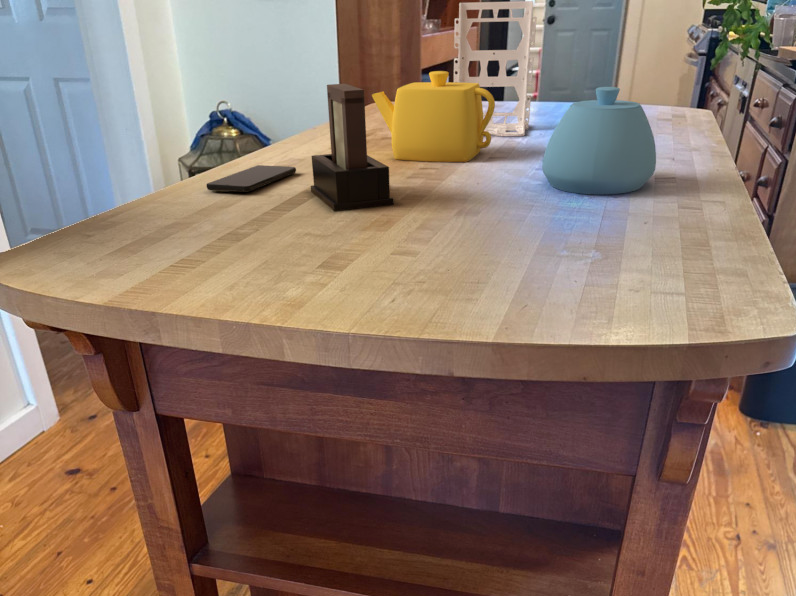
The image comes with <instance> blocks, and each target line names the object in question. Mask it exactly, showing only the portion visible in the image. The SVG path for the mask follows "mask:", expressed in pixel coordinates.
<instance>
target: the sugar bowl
mask: <svg viewBox="0 0 796 596" xmlns="http://www.w3.org/2000/svg"><path fill="white" fill-rule="evenodd" d="M620 90H621V89H620V88H619V87H617V86H599V87H597V88H595V95H596V99H591V100H580V101H576V102H572V104H570V106H569V107H568V108H567V110H566V111H565V112H564V114H563V115H562V116H561V118H560V120H559V122H558V123H557V125H556V126H555V128H554V130H553V131H552V133H551V136H550V138H549V140H548V142H547V145H546V148H545V151H544V155H543V159H542V165H541V170H542V173H543V174H544V176H545V178H546V180H547V181H548V182H549V184H550V185H551V187H552V188H555V189H556V190H560V191H563V192H567V193H573V194H580V195H581V194H582V195H583V194H584V195H600V196H601V195H619V194H626V193H632V192H635V191H639V189H641V188H642V187H643V186H645V184H646V183H647V182H648V181H649V180H650V179H651V178H652V176H653V175H654V173H655V171H656V165H657V149H656V142H655V137H654V133H653V129H652V127H651V124H650V122H649V119H648V117H647V113H646V112H645V111H644V108H643V106H642V104H640V103H639V102H636V101H630V100H620V99H617V97H618V96H619V93H620Z"/></svg>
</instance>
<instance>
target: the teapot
mask: <svg viewBox="0 0 796 596" xmlns="http://www.w3.org/2000/svg"><path fill="white" fill-rule="evenodd" d="M449 74H450V72H448V71H445V70H434V71H430V72H429V73H428V76H429V79H430V81H427V82H424V81H423V82H422V81H421V82H418V81H417V82H416V81H415V82H411V83H407V84H404V85H402V86H399V87H398V88H397V90H396V93H395V98H394V103H392V101H391V100H390V99H389V97H388V96H387V95H386V94H385V91H380V92H376V93H372V94H371V97H372V99H373V102H374V103H375V105H376V107H377V109H378V111H379V113H380V115H381V116H382V119H383V121H384V122H385V124H386V126H387V128H388V130H389V131H390V134H391V149H392V150H391V151H392V154H393V158H394V160H400V161H411V162H412V161H413V162H429V163H430V162H431V163H432V162H433V163H436V162H437V163H466V162H470V161H471V160H473V159H474V158H475V157H476V156H477V155H479V153H480V152H481V150H482V149H486V148H488V147H489V146H490V144H491V142H492V135H490V133H489V132H487V131H484V130H485V128H486V127H487V125H488V123H489V121H490V119H491V117H493V116H492V115H493V113H495V107H496V102H495V98H494V96H493V94H492V93H491V92H490V91H489V90H487V89H485V88H484V87H480V85H479V83H457V82H454V81H453V82H450V81H449V82H448V78H449ZM482 97H483V98H485V99H486V100H487V105H488V106H487V110H486V112H485V113H486V115H485V116H483V113H484V109H483V108H484V107H483V99H482ZM484 137H485V139H486V140H485V141H484Z"/></svg>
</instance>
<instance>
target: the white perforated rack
mask: <svg viewBox="0 0 796 596" xmlns="http://www.w3.org/2000/svg"><path fill="white" fill-rule="evenodd" d="M458 6H459V8H458V10H459V11H458V17H457V18H454V34H453V35H454V37H453V39H454V43H453V47H454V49H457V50H458V52H457V53H458V55H457V57H455V58H453V82H456V83H479V85H480V88H488V87H489V88H491V87H492V88H494V87H495V88H496V87H497V88H499V87H500V88H501V87H502V88H503V87H506V88H507V87H514V91H515V92H516V95H517V98H518V101H517V104H516V105H515V107H514V109H513V111H512V112H493V115H492V117H491V119H490V121H489V123H488V125H487V127H486V128H485V130H484V131H487V132H489V133H490V135H491V136H495V137H522V136H525V135H526V131H528V130H529V128H530V127H529V126H530V125H529V123H530V117H531V116H530V115H531V114H530V113H531V102H532V101H531V100H532V96H531V95H528V87H532V86H533V71H534V57H533V56H530V54H531V53H530V52H531V48H535V45H536V31H537V18H538V17H537V16H533V9H534V1H533V0H524V1H523V0H522V1H519V0H518V1H483V2H482V1H479V2H478V1H477V2H459V4H458ZM522 9H524V14H523V17H521V16H520V17H514V16H513V10H522ZM470 10H471V11H475V10H477V11H478V10H479V11H478V16H477V18H476V17H475V18H474V17H473V18H468V12H467V11H470ZM484 10H492V14H493V17H482V14H483V11H484ZM499 10H509V17H498V14H499ZM533 20H534V21H533ZM457 21H458V23H457ZM495 22H499V23H500V22H503V23H504V22H517V23H518V25H519V28H520V31H521V32H522V35H523V36H522V37H521V40H520V42H519V44H518V45H517V48H516V49H492V50H491V49H489V50H488V49H485V50H484V49H483V50H480V49H479V50H473V49H472V48H471V45H470V43H469V41H468V38H467V35H468V33H469V31H470V29H471V27H472V25H473V23H495ZM532 32H533V33H532ZM457 33H458V34H457ZM456 44H457V45H456ZM531 60H532V61H531ZM456 61H457V62H456ZM489 61H490V62H491V61H498V66H499V70H498V75H497V76H489V75H488V65H489ZM508 61H517V65H518V70H517V73H516V75H515V76H511V75H510V76H507V70H506V68H507V64H508ZM470 62H479V64H480V71H479V75H478V76H470V73H469V66H470ZM530 71H531V72H530ZM529 82H530V83H529ZM528 98H529V99H528ZM527 109H528V110H527ZM486 113H487V112H483V117H485V115H486ZM493 117H504V118H503V123H494V118H493ZM508 117H517V123H516V122H515V123H512V122H511V123H506V122H507V118H508Z"/></svg>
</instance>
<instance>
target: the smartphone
mask: <svg viewBox="0 0 796 596" xmlns="http://www.w3.org/2000/svg"><path fill="white" fill-rule="evenodd" d="M296 172H297V168H296V167H295V166H284V165H283V166H280V165H263V164H257V165H254V166H251V167H249V168H246V169H243V170H241V171H238V172H235V173H232V174H230V175H226V176H224V177H221V178H219V179H215V180H213V181H210V182H207V183H206V190H208V191H211V192H226V193H227V192H240V193H241V192H242V193H248V192H252V191H254V190H256V189H259V188H261V187H264V186H265V185H268V184H271V183H273V182H276V181H279V180H282V179H284V178H285V177H288V176H290V175H293V174H296Z"/></svg>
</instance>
